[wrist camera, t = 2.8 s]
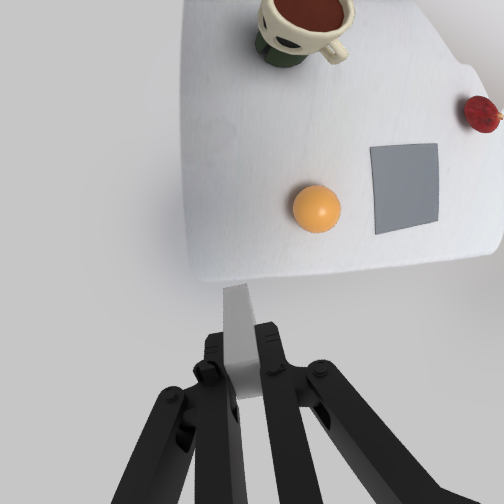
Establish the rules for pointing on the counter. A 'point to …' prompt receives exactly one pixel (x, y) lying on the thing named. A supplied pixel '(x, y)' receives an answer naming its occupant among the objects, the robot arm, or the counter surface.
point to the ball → (316, 209)
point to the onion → (482, 114)
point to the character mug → (303, 30)
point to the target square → (405, 186)
